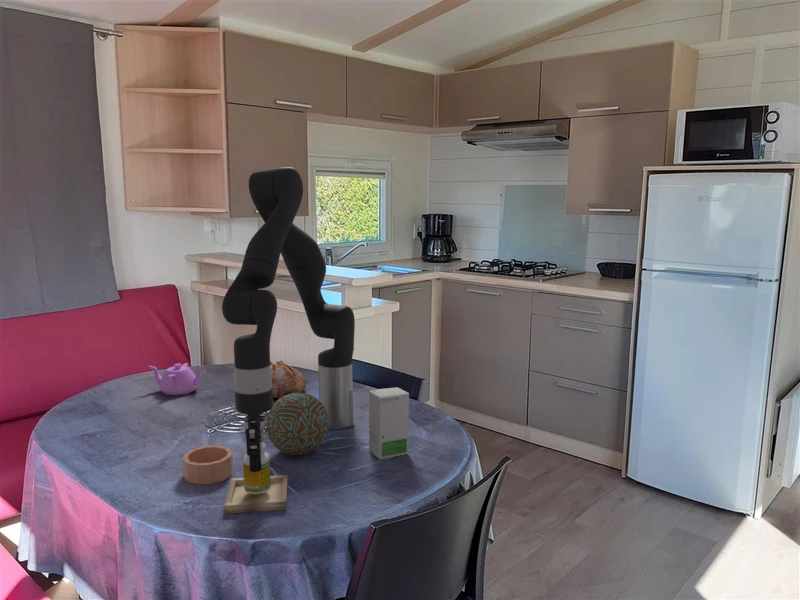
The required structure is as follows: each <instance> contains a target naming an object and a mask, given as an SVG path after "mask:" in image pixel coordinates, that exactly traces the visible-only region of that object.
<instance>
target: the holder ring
mask: <svg viewBox="0 0 800 600" xmlns="http://www.w3.org/2000/svg"><path fill="white" fill-rule="evenodd" d="M233 457H234V456H233V449H230V448H229V447H228V446H222V445H217V444H216V445H203V446H201V447H200V446H199V447H197V448H192V449H191V450H189V451H187V452H186V453H184V455H183V457H182V474H183V479H184V480H185V481H186V482H187V483H190V484H193V485H212V484H215V483H220V482H223V481H225V480H227V479H228V478H229V477H231V476H233V473H234V472H233V471H234V458H233Z"/></svg>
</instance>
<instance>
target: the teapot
mask: <svg viewBox="0 0 800 600" xmlns="http://www.w3.org/2000/svg"><path fill="white" fill-rule="evenodd" d="M148 367H149V368H151V370H152V371H153V375H154V380H155V383H157V385H159V390H160V391H161V392H162V393H163V394H165V395H166V396H184V395H188V394H190V393H193V392H194V391H195V390H196V389H197V387H198V385H199V384H200V383H201V381H202V369H203V368H204V367H205V365H199V366H198V368H197V369H196V375H195V373H194V371H193V370H192V369H191V368H190V367H189V364H188V362H187V363H183V364H182V363H175V364H173V366H171V367H168V368H167V369H166V370H165V371H164V372H163V375H160V373H159V370H158V368H157V366H154V365H148Z"/></svg>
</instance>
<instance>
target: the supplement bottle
mask: <svg viewBox="0 0 800 600" xmlns="http://www.w3.org/2000/svg"><path fill="white" fill-rule="evenodd" d="M254 448H257V446H251V449H254ZM261 450H262V452H261V471H259V472H251V471H250V461H249V456H247V444H246V445H245V453H246V454H245V455H244V456H243V458H242V460H243V461H242V464H243V466H242V467H243V470H242V471H243V478H244V489H245V491H246V492H247V493H249V494H262V493H265V492H267V491H268V490H269V489H270V487H271V482H270V476H271V463H270V460H271V459H270V454H269V453H268V452H267V447H266V443H265V442H264V441H263V442H261Z"/></svg>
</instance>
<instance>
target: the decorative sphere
mask: <svg viewBox="0 0 800 600" xmlns="http://www.w3.org/2000/svg"><path fill="white" fill-rule="evenodd" d="M328 424H329V420H328V415H327V412H326V409H325V407H324V406H323V404H322V403H321V402H320V401H319V398H316V397H315V396H314V395H312V394H309V393H306V392H301V393H297V392H296V393H290V394H287V395H286V396H283V397H281V398H277V400H276V401H275V402H273V407H272V408H271V409H270V410H269V411H268V414H267V416H266V420H265V429H266V431H267V436H268V438H269V441H270V442H271V444H273V446H274V447H275V448H276V449H277V450H279V451H281V452H282V453H285V454H287V455H291V456H302V455H306V454H309V453H311V452H312V451H314V450H316V449H317V448H318V447H319V446H320V445H321V444H322V443H323V442H324V441H325V439H326V436H327V434H328V431H329V429H328Z"/></svg>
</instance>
